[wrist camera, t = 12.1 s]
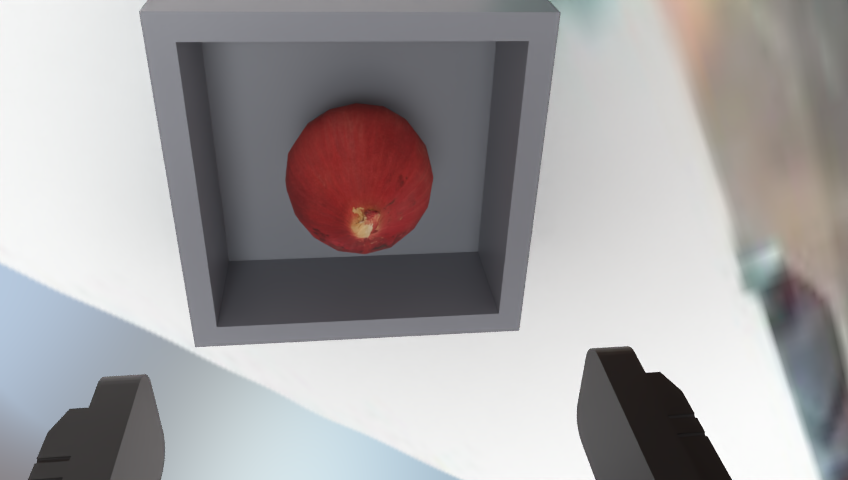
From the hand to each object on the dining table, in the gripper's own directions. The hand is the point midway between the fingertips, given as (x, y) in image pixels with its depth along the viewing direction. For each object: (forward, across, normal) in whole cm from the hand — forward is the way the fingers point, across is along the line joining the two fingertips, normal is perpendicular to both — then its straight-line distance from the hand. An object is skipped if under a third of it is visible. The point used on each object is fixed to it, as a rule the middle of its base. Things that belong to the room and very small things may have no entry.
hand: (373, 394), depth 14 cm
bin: (+21, 0, +4) cm, 21 cm away
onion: (+20, 0, +4) cm, 21 cm away
